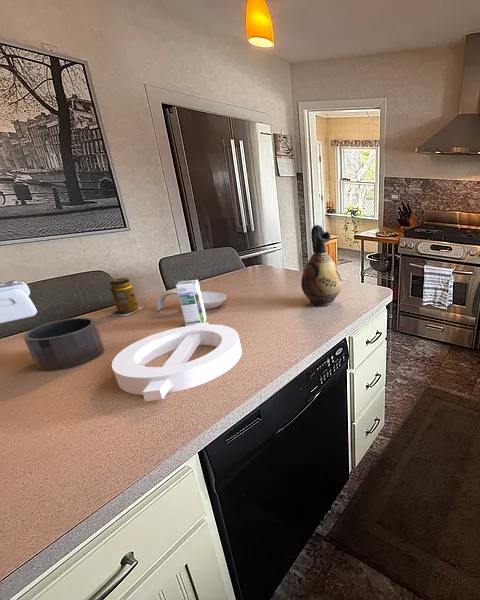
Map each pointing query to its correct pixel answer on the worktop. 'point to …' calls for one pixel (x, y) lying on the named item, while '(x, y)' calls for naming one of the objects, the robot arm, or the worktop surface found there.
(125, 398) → the worktop surface
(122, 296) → the condiment
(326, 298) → the ceramic jug
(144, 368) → the white circle with bar
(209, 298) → the spoon rest
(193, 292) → the syrup box
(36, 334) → the pot
